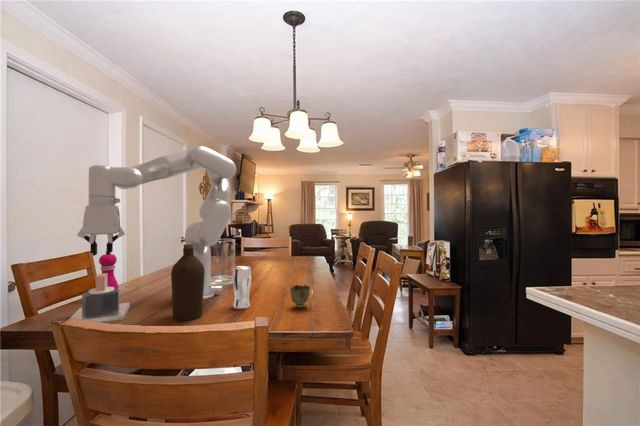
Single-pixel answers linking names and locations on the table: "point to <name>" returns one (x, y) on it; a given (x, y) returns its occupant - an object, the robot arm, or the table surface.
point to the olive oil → (187, 286)
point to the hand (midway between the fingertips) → (101, 254)
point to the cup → (299, 295)
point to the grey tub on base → (102, 307)
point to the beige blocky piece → (101, 285)
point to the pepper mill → (109, 269)
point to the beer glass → (241, 286)
